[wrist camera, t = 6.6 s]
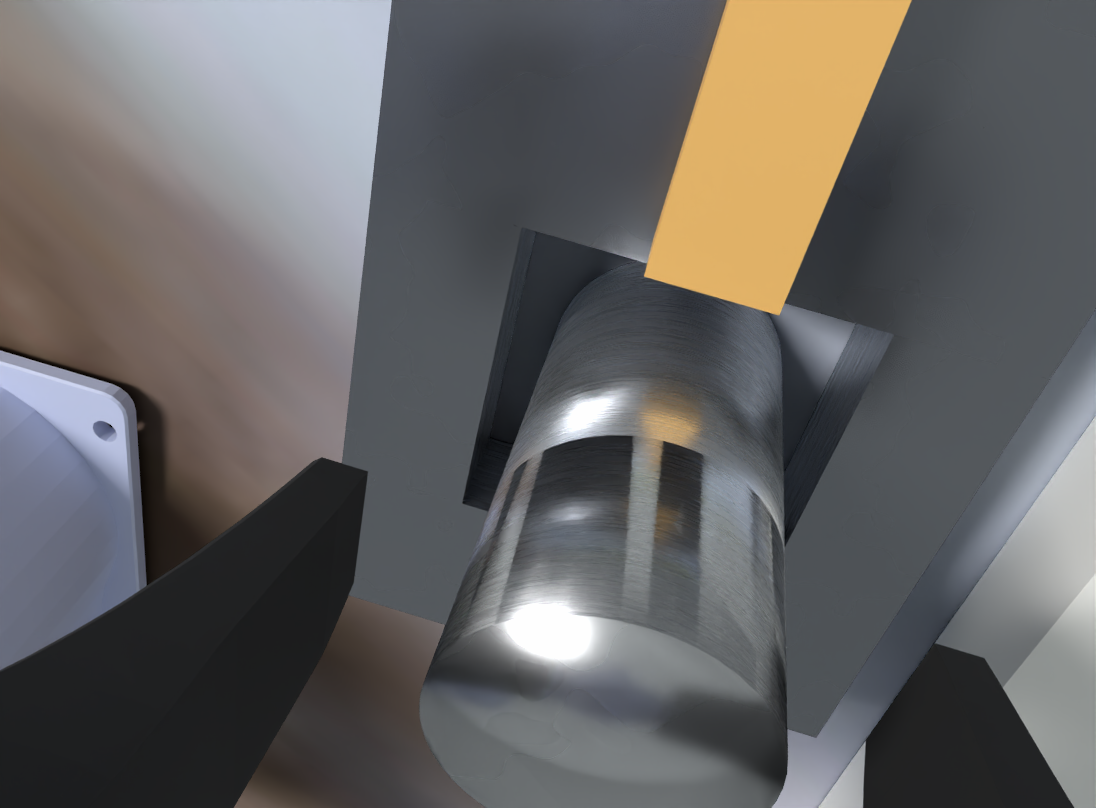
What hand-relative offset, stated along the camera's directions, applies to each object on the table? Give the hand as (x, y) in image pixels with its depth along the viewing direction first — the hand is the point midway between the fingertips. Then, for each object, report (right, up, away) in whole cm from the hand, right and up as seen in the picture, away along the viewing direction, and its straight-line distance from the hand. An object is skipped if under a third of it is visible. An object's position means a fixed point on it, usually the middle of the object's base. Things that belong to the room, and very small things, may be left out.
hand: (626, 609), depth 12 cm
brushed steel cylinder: (+1, +3, +5) cm, 6 cm away
